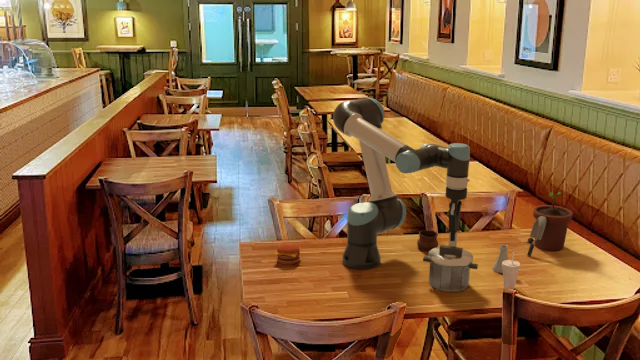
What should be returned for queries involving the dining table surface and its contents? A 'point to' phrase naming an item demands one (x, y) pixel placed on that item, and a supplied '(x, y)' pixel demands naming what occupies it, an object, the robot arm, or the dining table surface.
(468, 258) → the lid
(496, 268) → the flask
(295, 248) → the hamburger
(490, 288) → the dining table surface
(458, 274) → the pot
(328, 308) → the dining table surface
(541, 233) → the potted plant
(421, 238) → the ceramic pot
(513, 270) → the smoothie
